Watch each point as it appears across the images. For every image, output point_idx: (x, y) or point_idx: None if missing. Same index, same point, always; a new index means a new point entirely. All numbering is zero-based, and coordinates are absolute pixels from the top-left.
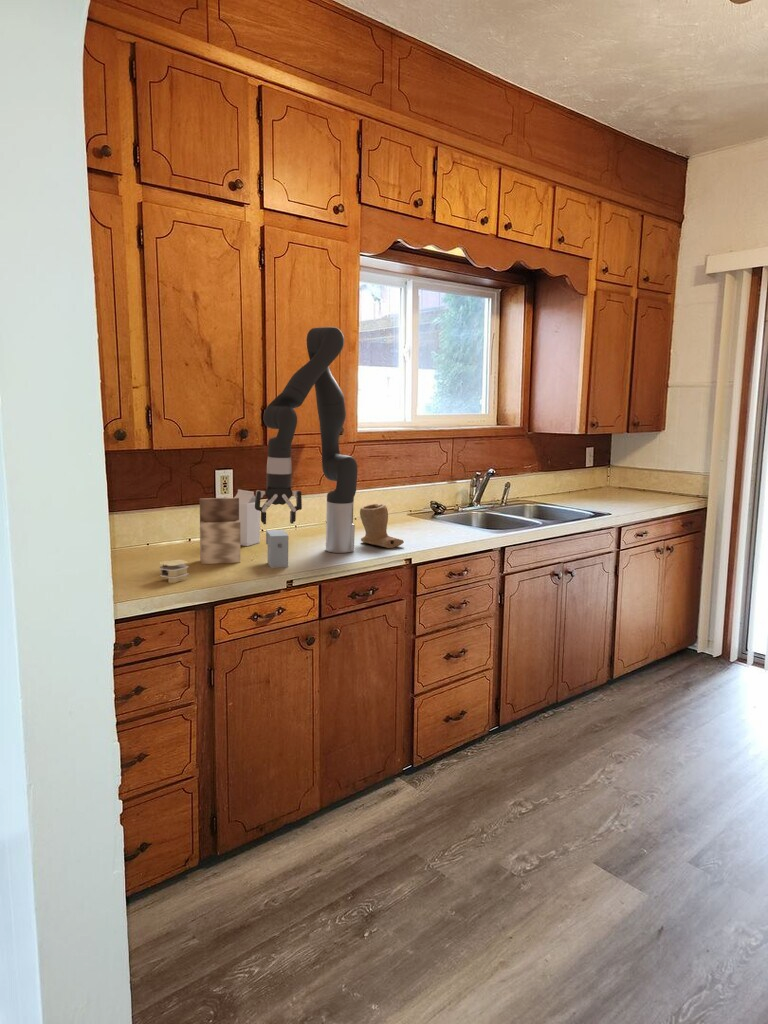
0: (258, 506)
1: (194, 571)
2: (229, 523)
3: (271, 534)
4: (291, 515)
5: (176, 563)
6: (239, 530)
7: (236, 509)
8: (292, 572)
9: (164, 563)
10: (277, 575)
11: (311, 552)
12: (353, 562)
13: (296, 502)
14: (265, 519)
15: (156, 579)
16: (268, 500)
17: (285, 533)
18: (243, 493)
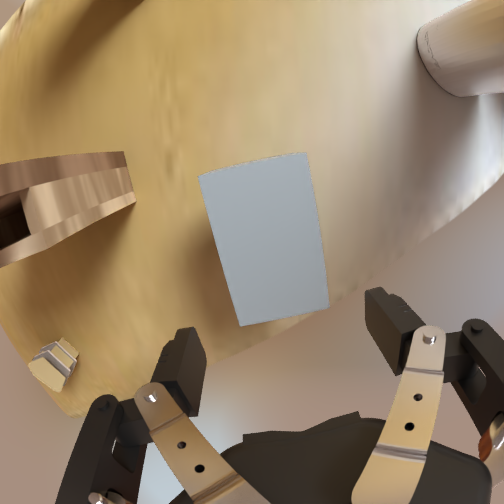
0: (135, 453)
1: (63, 299)
2: (19, 258)
3: (240, 290)
4: (386, 359)
5: (54, 381)
6: (70, 234)
7: None
8: None
9: (38, 376)
10: (268, 338)
11: (378, 61)
12: (472, 202)
13: (483, 364)
14: (199, 380)
15: (39, 344)
16: (187, 461)
17: (318, 260)
18: None
